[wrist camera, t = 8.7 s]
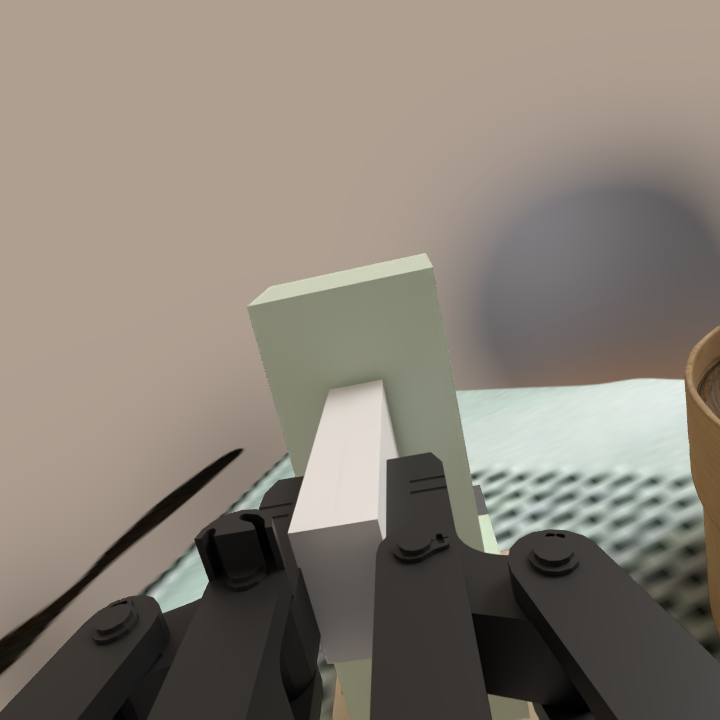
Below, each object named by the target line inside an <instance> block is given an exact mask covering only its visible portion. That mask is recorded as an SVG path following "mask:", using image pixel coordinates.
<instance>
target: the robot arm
mask: <svg viewBox="0 0 720 720" xmlns="http://www.w3.org/2000/svg"><path fill="white" fill-rule="evenodd" d="M194 540H195V543H196V546H197V548H198V551H199V554H200V557H201V560H202V562H203V565H204V568H205V571H206V574H207V576H208V579H209V583H208V585H207V587H206V589H205V591H204V594H203V596H202V598H201V599H198V600H196V601H194V602H192V603H189V604H186V605H184V606H181V607H179V608H176V609H173V610H171V611H168V612H165V613H163V614H162V611H161V609H160V606H159V604H158V603H157V601H156V600H155V599H154V598H153V597H150V596H146V595H138V596H131V597H127V598H123V599H121V600H117V601H115V602H113V603H111V604H109V605H108V606H107V607H105V608H103V609H102V610H100V611H98V612H97V613H96V614H95V615H93V616H92V617H91V618H90V619H89V620H88V621H86V622H85V623H84V624H83V625H82V626H81V628H80V629H79V630H77V632H76V633H75V634H74V635H73V636H72V637H71V638H70V639H69V640H68V641H67V642H66V643H65V644H64V645H63V646H62V647H61V648H60V650H59V651H58V652H57V653H56V654H55V655H54V656H53V657H52V658H51V659H50V660H49V661H48V662H47V663H46V664H45V665H44V667H43V668H42V669H41V670H40V671H39V672H38V673H37V674H36V675H35V676H34V677H33V678H32V679H31V680H30V681H29V682H28V683H27V684H26V686H25V687H24V688H23V689H22V690H21V691H20V692H19V693H18V694H17V695H16V696H15V697H14V698H13V699H12V700H11V701H10V702H9V703H8V705H7V706H6V707H5V708H4V709H3V710H2V711H1V712H0V720H320V712H321V704H322V696H323V686H322V678H321V675H320V672H319V669H318V665H317V658H318V651H319V644H320V643H321V646H322V650H323V653H324V656H325V660H326V663H327V664H334V663H342V662H349V661H357V660H364V659H372V672H371V698H370V720H492V716H491V710H490V704H489V699H488V694H490V695H496V696H501V697H506V698H512V699H517V700H523V701H528V702H532V704H533V707H534V710H535V713H536V714H537V716H538V718H539V720H720V663H719V662H718V661H717V660H716V659H715V658H714V657H713V656H712V655H711V654H710V653H709V652H708V651H707V650H706V649H705V648H704V647H703V646H702V645H701V644H700V643H699V642H698V641H696V640H695V639H694V638H693V637H692V636H691V635H690V634H689V633H688V632H687V631H686V630H685V629H684V628H683V627H682V626H681V625H680V624H679V623H678V622H677V621H676V620H675V619H674V618H673V617H672V616H671V615H669V614H668V613H667V612H666V611H665V610H664V609H663V608H662V607H661V606H660V605H659V604H658V603H657V602H656V601H655V600H654V599H653V598H652V597H651V596H650V595H649V594H648V593H647V592H646V591H645V590H644V589H642V588H641V587H640V586H639V585H638V584H637V583H636V582H635V581H634V580H633V579H632V578H631V577H630V576H629V575H628V574H627V573H626V572H625V571H624V570H623V569H622V568H621V567H620V566H619V565H618V564H617V563H616V562H614V561H613V560H612V559H611V558H610V557H609V556H608V555H607V554H606V553H605V552H604V551H603V550H602V549H601V548H600V547H599V546H598V545H597V544H595V543H594V542H592V541H591V540H589V539H588V538H586V537H585V536H583V535H580V534H577V533H574V532H570V531H567V530H543V531H538V532H532V533H530V534H528V535H526V536H524V537H522V538H520V539H518V540H517V541H516V543H515V544H514V545H513V546H512V547H511V548H510V550H509V554H508V555H499V554H491V553H485V552H481V551H479V550H476V549H473V548H471V547H470V546H468V545H466V544H465V543H464V542H463V541H462V540H461V539H460V538H459V537H458V535H457V532H456V529H455V524H454V519H453V514H452V509H451V504H450V499H449V493H448V488H447V483H446V478H445V473H444V468H443V463H442V461H441V460H440V459H438V458H437V457H436V456H435V455H434V454H432V453H431V452H428V453H422V454H417V455H411V456H405V457H399V453H398V448H397V444H396V439H395V435H394V430H393V426H392V421H391V417H390V412H389V408H388V403H387V399H386V394H385V390H384V385H383V380H377V381H372V382H367V383H361V384H356V385H351V386H346V387H340V388H335V389H330V390H329V393H328V396H327V399H326V403H325V406H324V410H323V413H322V417H321V420H320V424H319V427H318V431H317V434H316V437H315V441H314V444H313V448H312V451H311V455H310V458H309V462H308V465H307V469H306V472H305V475H304V476H300V477H294V478H288V479H283V480H278V481H277V482H276V483H275V484H274V485H273V486H272V487H271V488H270V489H269V490H268V491H267V492H266V493H265V495H264V497H263V500H262V502H261V505H260V507H259V510H257V509H252V510H241V511H238V512H234V513H230V514H227V515H225V516H223V517H221V518H219V519H217V520H215V521H213V522H212V523H210V524H209V525H208V526H206V527H205V528H204V529H202V530H201V532H200V533H199V534H198V535H197V537H196V538H195V539H194Z"/></svg>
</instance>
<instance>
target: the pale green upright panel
mask: <svg viewBox="0 0 720 720" xmlns="http://www.w3.org/2000/svg"><path fill="white" fill-rule="evenodd" d="M247 309H248V312H249V316H250V320H251V323H252V327H253V330H254V334H255V337H256V340H257V344H258V347H259V351H260V355H261V358H262V361H263V365H264V368H265V372H266V375H267V378H268V382H269V386H270V389H271V393H272V396H273V400H274V403H275V407H276V410H277V414H278V417H279V421H280V424H281V428H282V431H283V435H284V438H285V442H286V445H287V449H288V452H289V456H290V459H291V463H292V466H293V470H294V473H295V477H300V476H304V475H305V472H306V469H307V465H308V462H309V458H310V455H311V451H312V448H313V444H314V441H315V437H316V434H317V431H318V427H319V424H320V420H321V417H322V413H323V410H324V406H325V403H326V399H327V396H328V393H329V390H330V389H335V388H340V387H346V386H351V385H356V384H361V383H367V382H372V381H377V380H383V385H384V390H385V394H386V399H387V403H388V408H389V412H390V417H391V421H392V426H393V430H394V435H395V439H396V444H397V448H398V453H399V457H405V456H411V455H417V454H422V453H428V452H431V453H432V454H434V455H435V456H436V457H437V458H438V459H440V460H441V461H442V463H443V468H444V473H445V478H446V483H447V488H448V493H449V499H450V504H451V509H452V514H453V519H454V524H455V529H456V532H457V535H458V537H459V538H460V539H461V540H462V541H463V542H464V543H465V544H466V545H468V546H470V547H471V548H473V549H476V550H479V551H481V552H485V553H491V554H499V555H500V552H499V548H498V545H497V542H496V538H495V535H494V532H493V528H492V525H491V521H490V518H489V515H488V514H486V515H480V516H478V512H477V507H476V501H475V496H474V490H473V485H472V479H471V474H470V468H469V463H468V457H467V452H466V446H465V441H464V435H463V430H462V425H461V419H460V414H459V408H458V403H457V397H456V392H455V386H454V381H453V375H452V370H451V364H450V359H449V353H448V348H447V342H446V337H445V331H444V327H443V321H442V315H441V309H440V304H439V298H438V293H437V287H436V282H435V276H434V271H433V266H432V264H431V263H430V261H429V259H428V257H427V255H426V253H424V254H419V255H415V256H410V257H405V258H400V259H396V260H392V261H387V262H382V263H377V264H373V265H368V266H364V267H359V268H354V269H350V270H345V271H340V272H336V273H331V274H326V275H322V276H318V277H312V278H308V279H303V280H299V281H294V282H290V283H285V284H280V285H275V286H271V287H269V288H268V289H267V290H266V291H264V292H263V293H262V294H261V295H260V296H259V297H257V298H256V299H255V300H254V301H253V302H252V303H250V304H249V305H248V306H247ZM334 666H335V669H336V673H337V676H338V679H339V683H340V686H341V690H342V693H343V696H344V700H345V703H346V706H347V710H348V713H349V717H350V720H370V698H371V672H372V659H364V660H357V661H349V662H342V663H334ZM488 699H489V704H490V710H491V716H492V720H518V719H526V718H530V713H529V707H528V702H527V701H523V700H517V699H512V698H506V697H501V696H496V695H490V694H488Z"/></svg>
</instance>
